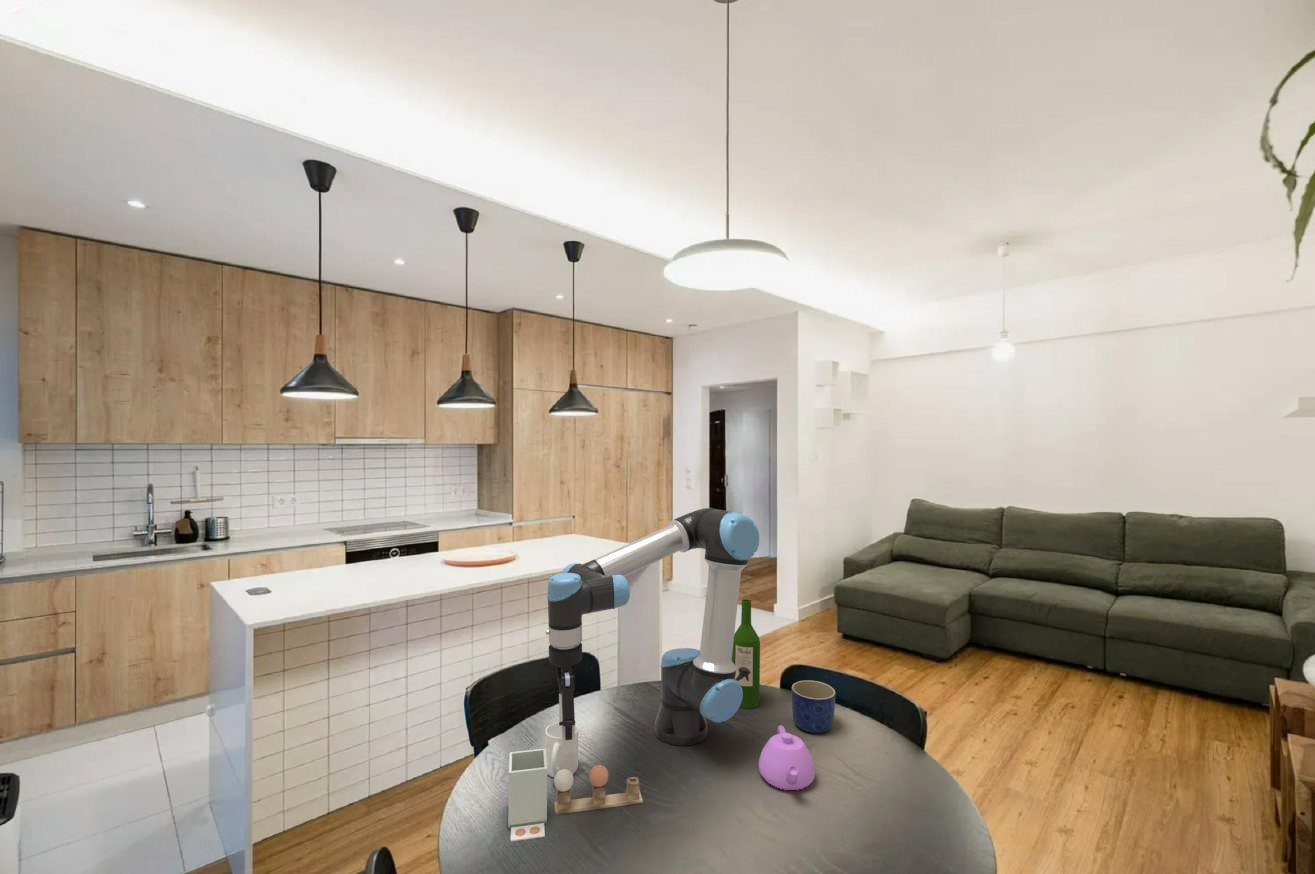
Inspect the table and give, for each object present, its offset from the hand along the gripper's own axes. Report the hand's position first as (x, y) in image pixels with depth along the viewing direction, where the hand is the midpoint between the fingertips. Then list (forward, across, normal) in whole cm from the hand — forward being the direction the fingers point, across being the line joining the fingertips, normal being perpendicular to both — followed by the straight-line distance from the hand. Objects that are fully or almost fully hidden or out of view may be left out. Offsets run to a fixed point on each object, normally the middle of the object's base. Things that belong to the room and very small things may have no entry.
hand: (566, 735), depth 133 cm
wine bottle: (+18, -41, +58) cm, 73 cm away
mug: (+17, -13, -1) cm, 21 cm away
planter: (+19, -23, +72) cm, 78 cm away
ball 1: (+12, 0, -1) cm, 12 cm away
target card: (+16, +7, -9) cm, 20 cm away
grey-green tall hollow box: (+16, +1, -9) cm, 19 cm away
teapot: (+18, 0, +54) cm, 57 cm away
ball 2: (+12, 0, +7) cm, 14 cm away
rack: (+17, 0, +7) cm, 18 cm away
